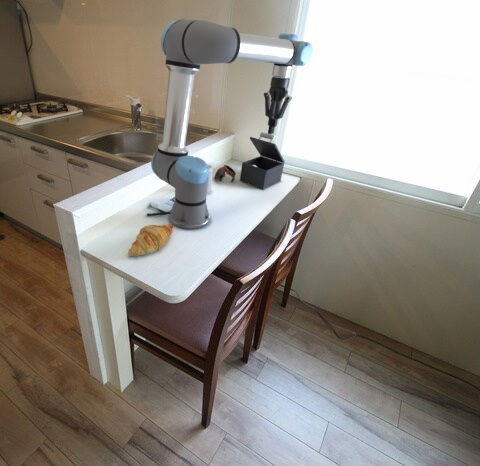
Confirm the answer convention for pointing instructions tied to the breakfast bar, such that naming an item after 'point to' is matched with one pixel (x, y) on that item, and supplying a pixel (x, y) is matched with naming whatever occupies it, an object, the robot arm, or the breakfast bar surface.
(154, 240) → the croissant
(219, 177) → the broken terracotta ring
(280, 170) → the open cubby box
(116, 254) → the breakfast bar surface
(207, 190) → the beverage can
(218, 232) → the breakfast bar surface
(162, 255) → the breakfast bar surface
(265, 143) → the lid
